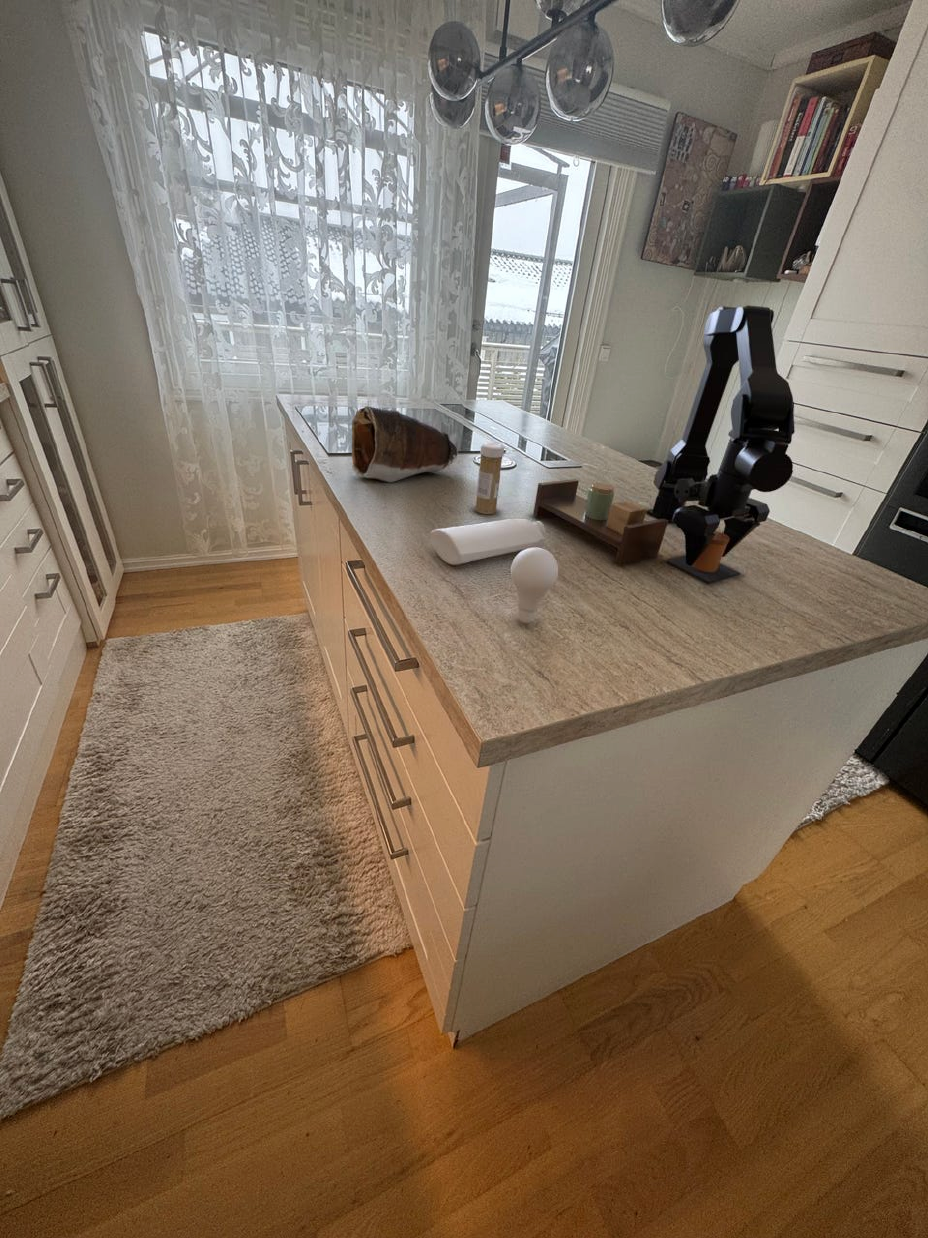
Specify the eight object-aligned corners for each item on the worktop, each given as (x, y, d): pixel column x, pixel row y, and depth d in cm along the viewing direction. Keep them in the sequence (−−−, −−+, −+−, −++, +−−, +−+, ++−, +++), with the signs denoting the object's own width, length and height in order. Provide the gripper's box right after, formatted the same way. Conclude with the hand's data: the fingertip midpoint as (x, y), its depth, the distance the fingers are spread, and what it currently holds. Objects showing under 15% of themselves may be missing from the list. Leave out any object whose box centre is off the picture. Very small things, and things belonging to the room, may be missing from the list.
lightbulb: (500, 610, 73) (510, 538, 68) (542, 611, 74) (556, 540, 68) (507, 634, 68) (518, 558, 63) (551, 635, 69) (567, 561, 63)
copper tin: (699, 558, 95) (710, 527, 92) (723, 569, 91) (735, 538, 88) (682, 562, 92) (693, 531, 89) (706, 574, 89) (718, 542, 86)
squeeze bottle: (429, 549, 89) (430, 521, 86) (520, 533, 98) (524, 507, 96) (458, 573, 82) (461, 544, 79) (553, 553, 92) (558, 526, 89)
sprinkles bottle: (500, 513, 106) (509, 447, 99) (482, 516, 104) (490, 448, 97) (487, 506, 110) (495, 441, 102) (470, 508, 107) (476, 442, 100)
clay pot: (478, 427, 120) (379, 406, 106) (466, 493, 125) (370, 482, 111) (445, 421, 131) (352, 402, 117) (436, 482, 136) (345, 471, 122)
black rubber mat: (696, 554, 97) (697, 552, 97) (739, 574, 91) (740, 572, 91) (665, 562, 93) (666, 560, 93) (708, 584, 87) (709, 582, 86)
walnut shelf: (568, 510, 112) (575, 478, 108) (657, 556, 95) (668, 520, 91) (532, 516, 107) (538, 483, 103) (619, 565, 90) (630, 528, 86)
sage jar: (596, 510, 101) (602, 481, 98) (613, 518, 98) (620, 488, 95) (578, 513, 99) (585, 483, 96) (595, 521, 96) (603, 491, 93)
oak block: (622, 523, 96) (628, 500, 94) (640, 532, 93) (647, 508, 91) (605, 526, 94) (611, 503, 92) (623, 535, 91) (630, 511, 89)
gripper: (728, 455, 93) (699, 535, 101) (660, 462, 84) (634, 550, 92) (787, 473, 85) (751, 558, 94) (719, 483, 76) (686, 577, 84)
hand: (705, 560), depth 91 cm, fingers open, 9 cm apart
